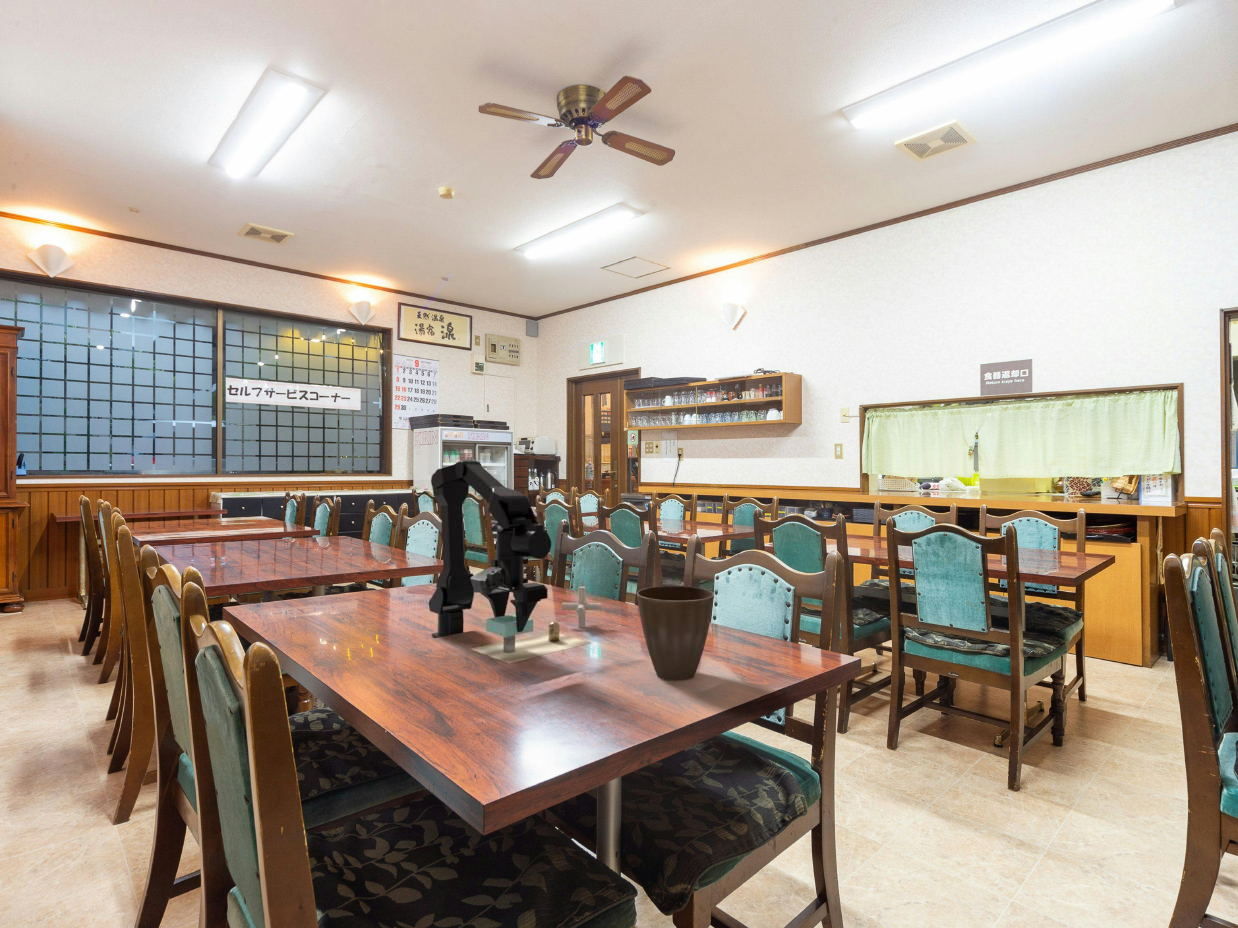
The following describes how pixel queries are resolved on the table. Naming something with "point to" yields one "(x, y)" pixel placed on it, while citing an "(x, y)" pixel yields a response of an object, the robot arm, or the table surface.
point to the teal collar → (507, 625)
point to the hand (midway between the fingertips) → (509, 628)
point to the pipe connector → (581, 606)
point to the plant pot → (675, 628)
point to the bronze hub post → (554, 632)
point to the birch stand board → (528, 647)
